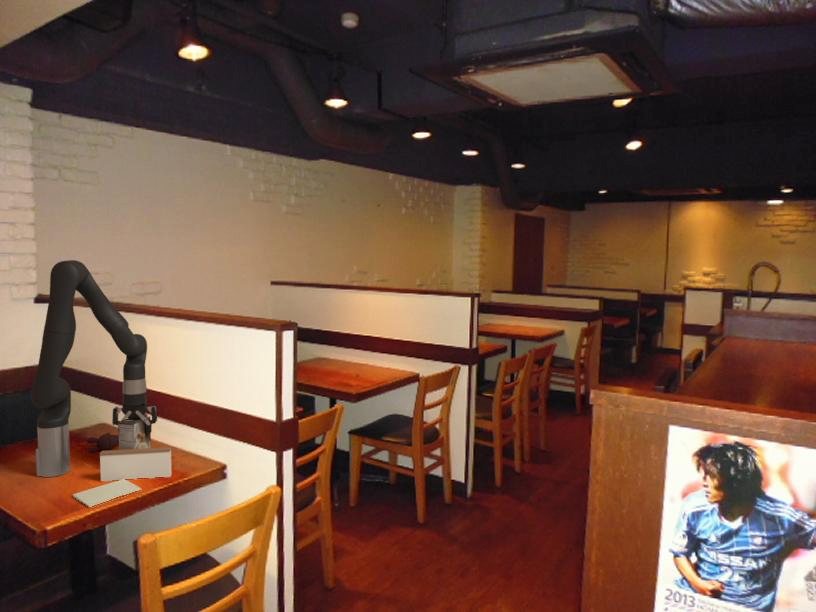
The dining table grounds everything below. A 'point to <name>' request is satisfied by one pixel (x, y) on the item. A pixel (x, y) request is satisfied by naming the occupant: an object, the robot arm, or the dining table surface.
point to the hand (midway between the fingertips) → (135, 435)
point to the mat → (105, 492)
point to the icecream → (103, 442)
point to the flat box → (135, 463)
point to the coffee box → (133, 435)
